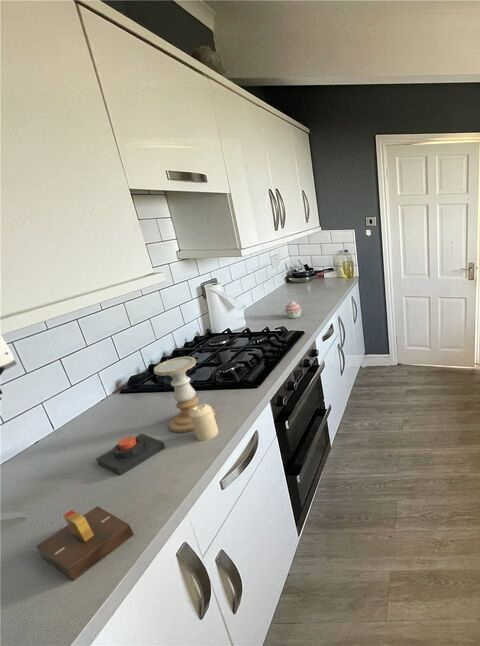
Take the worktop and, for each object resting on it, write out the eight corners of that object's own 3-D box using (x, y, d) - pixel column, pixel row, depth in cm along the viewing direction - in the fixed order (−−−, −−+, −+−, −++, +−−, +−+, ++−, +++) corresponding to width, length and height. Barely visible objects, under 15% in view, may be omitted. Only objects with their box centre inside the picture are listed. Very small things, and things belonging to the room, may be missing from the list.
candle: (209, 427, 106) (200, 399, 103) (222, 430, 105) (214, 402, 101) (192, 438, 102) (183, 410, 98) (206, 442, 100) (197, 413, 96)
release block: (120, 476, 89) (115, 463, 87) (98, 465, 93) (93, 453, 91) (165, 448, 98) (161, 436, 97) (144, 439, 102) (139, 428, 100)
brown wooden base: (73, 580, 65) (66, 569, 64) (42, 556, 69) (35, 545, 68) (134, 534, 73) (129, 523, 72) (102, 515, 78) (97, 505, 77)
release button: (124, 451, 92) (122, 446, 91) (117, 448, 93) (114, 443, 93) (140, 443, 95) (137, 438, 94) (132, 440, 96) (130, 434, 96)
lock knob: (94, 535, 70) (84, 516, 68) (85, 542, 69) (74, 522, 67) (82, 527, 72) (72, 508, 70) (73, 533, 70) (62, 514, 68)
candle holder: (182, 411, 115) (163, 357, 107) (222, 407, 116) (206, 353, 109) (161, 435, 103) (139, 376, 96) (206, 430, 105) (187, 371, 98)
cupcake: (286, 315, 202) (283, 299, 199) (303, 313, 205) (300, 297, 202) (285, 321, 194) (282, 304, 191) (302, 318, 197) (300, 302, 193)
